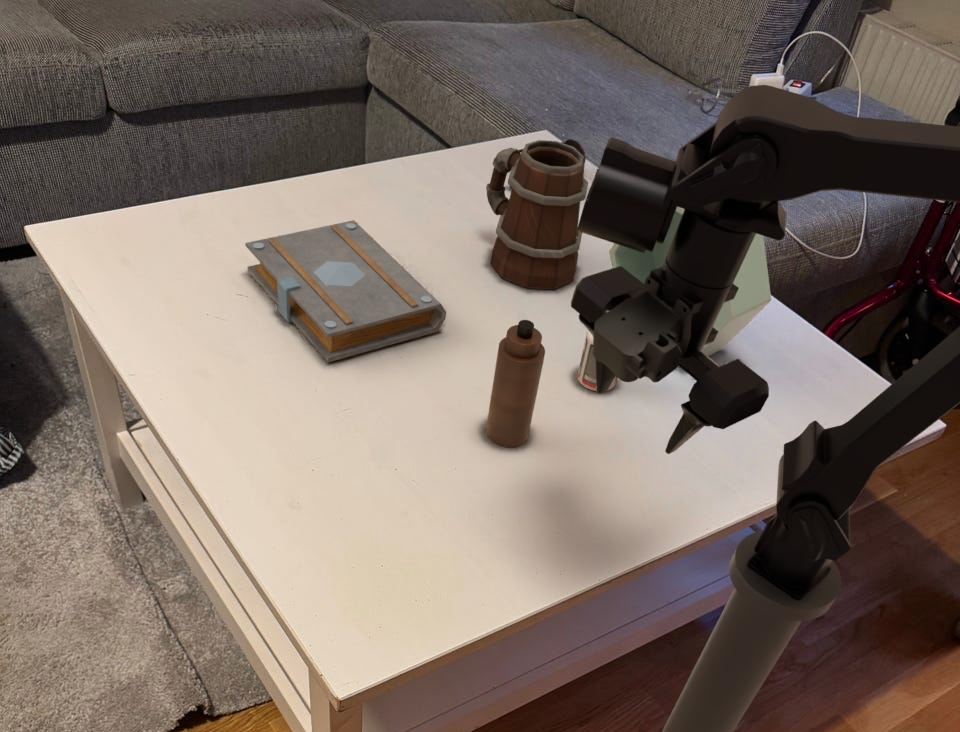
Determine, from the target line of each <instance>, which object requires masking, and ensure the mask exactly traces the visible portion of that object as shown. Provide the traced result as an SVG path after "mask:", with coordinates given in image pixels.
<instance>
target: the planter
mask: <svg viewBox="0 0 960 732" xmlns="http://www.w3.org/2000/svg"><path fill="white" fill-rule="evenodd" d="M684 210H685V209H683V208H680V207H677V208H676V211H675V214H674V216H673V219H672V222H671V225H670V227H669V230H668V232H667V235H666V237H665V240H664V242H663V244H660V243H657V242H656V244H655V246H654V249H653V251H652V252H650V251H647V250H646V251H645V253H642V252H639V251H636V250H633V249H630V248H627V247H624V246H621V245H618V244H615V243H613V245H612V246H611V248H610V249H609V257H610V258H609V259H610V262H611V269H612V268H616V267H619V266H622V267H623V268H625V269H626V270H627V271H628V272H630V273H631V274H632V275H633V276H635V277H636V278H637V279H638V280H640V281H641V282H642V283H643V284H644V283H645V280H646V278H647V277H649V275H650V272H651V271H652V270H655V269H658V268H661V267H662V266H663V263H664V261H665V258H666V256H667V253H668V251H669V248H670V246H671V243H672V240H673V238H674V235H675V233H676V230H677V228H678V225H679V222H680V220H681V217H682V215H683V212H684ZM768 270H769V269H768V262H767V254H766V247H765V236H763V235H759V234H756V235H755V237H754V239H753V241H752V243H751V245H750V248H749V250H748V252H747V254H746V256H745V258H744V261H743V263H742V265H741V267H740V269H739V271H738V273H737V276H736V278H735V280H734V282H733V284H734V285H736V286H737V287H738V288H739V289H738V291H737V293H736V295H735V298H734V299H732V300H730V301H727V302H724V304H723V306H722V308H721V310H720V312H719V315H718V317H717V319H716V321H715V323H714V325H713V328H715V329H716V330H717V331H718V334H717V336H716V338H715V340H714V342H711V343H709V344H706V345H704V347H703V349H702V352H703V353H705V354H706V355H707V356H708V357H710V356H712V355H714V354H716V353H717V352H720V351H721V350H723V349H724V348H726V346H727V345H728V344H729V343H730V342H731V341H732V340H733V339H734V338H736V336H737V335H738V334H739V333H740V332H741V331H742V330H743V329H745V328H746V327H747V326H748V324H749V323H750V322H752V320H753V319H754V318H756V317H757V315H758V314H759V313H760V312H761V311H762V310H763V309H764V308H765V307H767V306H768V305H769V303H770V302H771V301H772V294H771V285H770V278H769V277H770V276H769V271H768Z"/></svg>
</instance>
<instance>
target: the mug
mask: <svg viewBox="0 0 960 732" xmlns="http://www.w3.org/2000/svg"><path fill="white" fill-rule="evenodd" d="M561 142H562V141H561ZM561 142H560V141H558V140H547V139H546V140H544V139H537V140H535V141H531V142H528V143H525V145H524V147H523V148H522V149H523V150H522V152H520V151H519V150H520V149H518V148H513V147H508V148H504V149H501V150H500V151H499V152H498V153H497V154H496V156H495V157H494V158H493V161H492V166H493V169H492V172H491V176H490V181H489V183H487V184H486V187H485V188H486V197H487V202H488V204H489V206H490V208H491V210H492V212H493V214H494V215H496V216H499V219H498V221H497V225H496V228H495V234H496V238H495V241H494V244H493V247H492V251H491V255H490V263H489V264H490V265H491V266H492V268H493V269H494V270H495V271H496V272H497V273H498V275H500V277H501V278H502V279H504V280H507V281H508V282H512V283H514V284H517V285H519V286H522V287H524V288H527V289H546V290H547V289H549V290H555V289H559V288H560V287H562V286H565V285H567V284H569V283H571V282H574V279H575V274H576V269H577V265H578V260H579V251H580V248H581V247H580V246H581V243H582V237H583V233H582V232H579V231H577V229H578V225H579V221H580V209H581V202H583V201H585V200H586V198H587V192H588V187H589V182H588V181H589V180H587V179H586V178H585V177H584V175H585V165H586V161H585V162H584V161H583V158H584V156H583V155H582V154H581V153H579V152H578V151H577V150H576V149H575V148H574V147H572V146H569V145H566V144H563V143H561ZM508 173H509V174H508ZM507 176H508V179H507ZM506 179H507V185H508V187H509V188H510V187H511V188H512V189H511V192H510V195H509V197H507V196H506V186H505V183H506Z"/></svg>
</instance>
